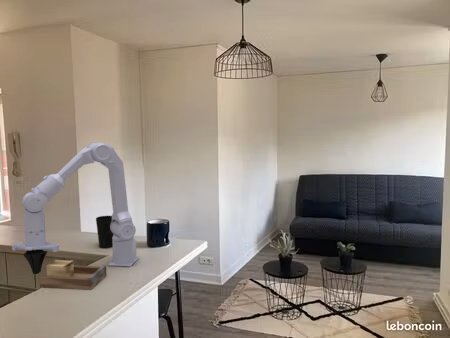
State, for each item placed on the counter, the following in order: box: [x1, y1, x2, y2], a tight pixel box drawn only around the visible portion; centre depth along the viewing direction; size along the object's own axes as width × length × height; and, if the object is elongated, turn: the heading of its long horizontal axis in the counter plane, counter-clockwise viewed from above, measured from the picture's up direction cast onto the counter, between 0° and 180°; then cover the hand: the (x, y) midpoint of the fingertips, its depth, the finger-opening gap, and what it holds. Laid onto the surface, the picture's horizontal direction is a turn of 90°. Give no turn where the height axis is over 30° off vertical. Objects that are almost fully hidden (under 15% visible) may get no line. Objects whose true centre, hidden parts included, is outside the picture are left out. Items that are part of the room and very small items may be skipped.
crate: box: [45, 259, 75, 277], centre depth 116 cm, size 5×6×5 cm
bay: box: [39, 264, 107, 291], centre depth 116 cm, size 11×16×4 cm
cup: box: [95, 215, 114, 249], centre depth 152 cm, size 8×8×12 cm
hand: (36, 272), depth 117 cm, fingers closed
